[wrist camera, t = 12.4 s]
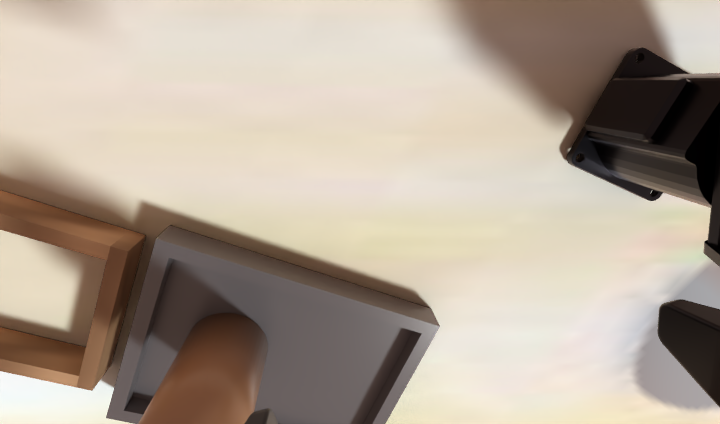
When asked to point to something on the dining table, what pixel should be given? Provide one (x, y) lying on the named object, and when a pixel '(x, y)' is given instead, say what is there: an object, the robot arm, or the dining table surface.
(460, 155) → the dining table surface
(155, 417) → the bottle
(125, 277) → the stand
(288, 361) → the tray
